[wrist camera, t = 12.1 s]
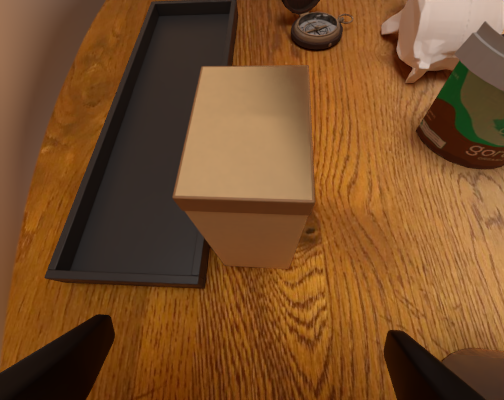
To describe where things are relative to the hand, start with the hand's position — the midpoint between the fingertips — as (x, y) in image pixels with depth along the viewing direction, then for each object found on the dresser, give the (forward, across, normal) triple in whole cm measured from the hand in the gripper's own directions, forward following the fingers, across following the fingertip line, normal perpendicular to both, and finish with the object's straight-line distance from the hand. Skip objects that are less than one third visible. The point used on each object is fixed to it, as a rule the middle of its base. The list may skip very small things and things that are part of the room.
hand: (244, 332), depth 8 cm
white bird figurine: (+29, -18, -14) cm, 37 cm away
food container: (+19, -20, -3) cm, 27 cm away
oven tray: (+22, +10, -7) cm, 25 cm away
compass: (+32, -6, -16) cm, 36 cm away
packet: (+13, 0, +2) cm, 13 cm away
